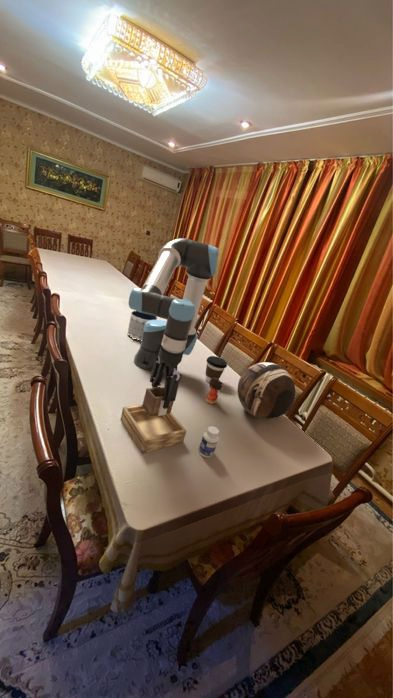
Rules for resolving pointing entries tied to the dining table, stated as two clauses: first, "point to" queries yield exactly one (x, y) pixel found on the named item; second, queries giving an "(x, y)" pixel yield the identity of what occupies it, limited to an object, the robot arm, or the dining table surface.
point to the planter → (138, 323)
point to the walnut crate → (154, 401)
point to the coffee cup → (214, 367)
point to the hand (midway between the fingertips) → (157, 408)
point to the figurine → (213, 390)
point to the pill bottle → (209, 442)
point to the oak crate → (152, 428)
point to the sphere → (266, 390)
